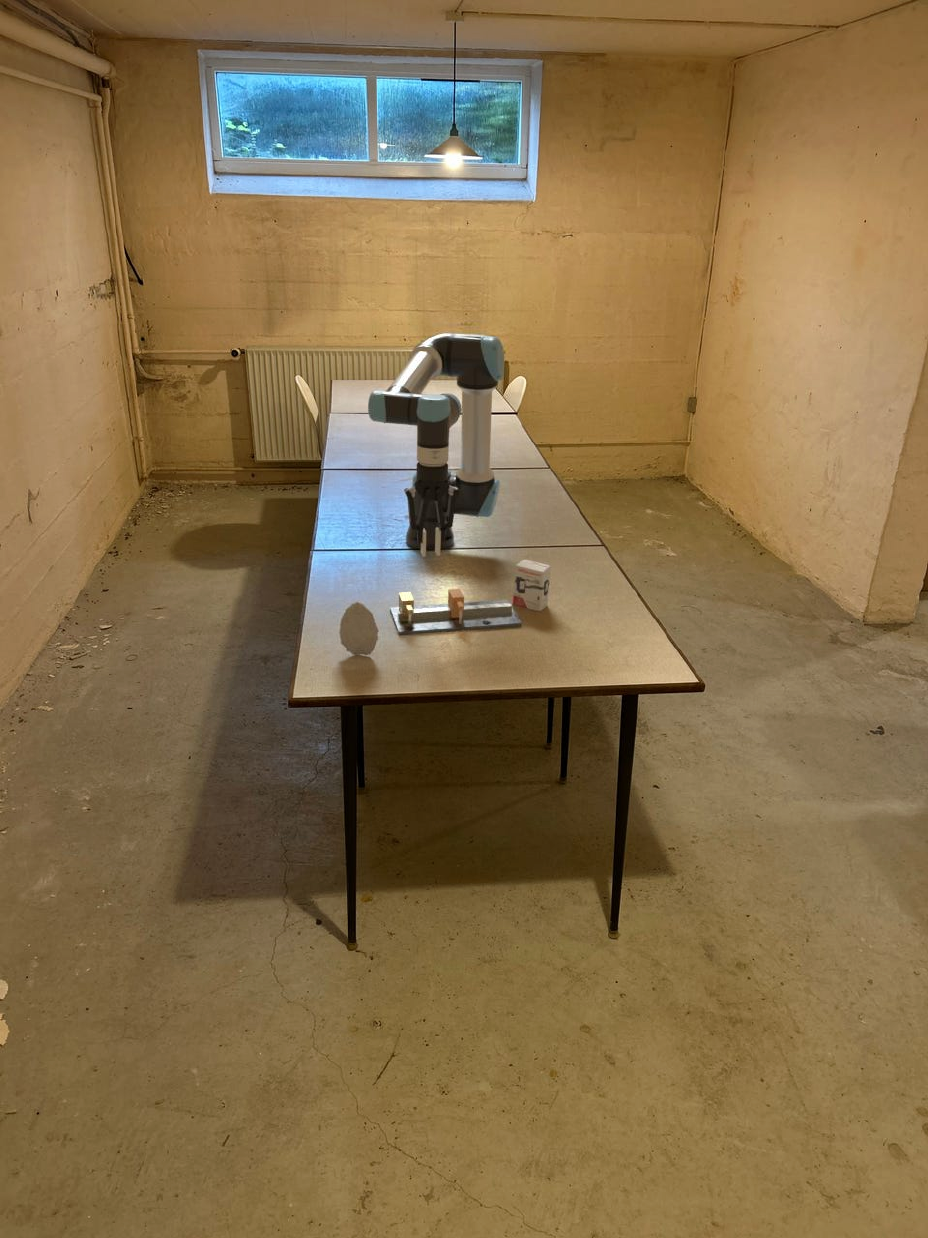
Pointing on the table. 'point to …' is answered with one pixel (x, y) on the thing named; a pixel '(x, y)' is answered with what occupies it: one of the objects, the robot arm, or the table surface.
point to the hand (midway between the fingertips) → (430, 554)
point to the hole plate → (456, 621)
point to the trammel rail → (444, 610)
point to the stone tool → (358, 630)
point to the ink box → (531, 585)
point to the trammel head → (456, 603)
